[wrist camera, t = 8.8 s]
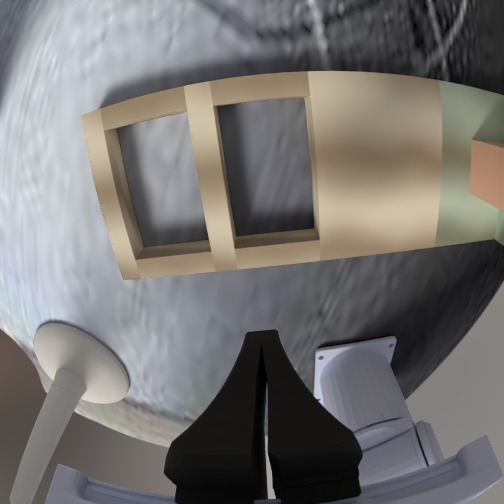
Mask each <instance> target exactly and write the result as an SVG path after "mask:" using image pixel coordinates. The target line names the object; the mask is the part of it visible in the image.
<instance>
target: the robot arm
mask: <svg viewBox="0 0 504 504" xmlns="http://www.w3.org/2000/svg"><path fill="white" fill-rule="evenodd" d="M396 340H397V339H396V338H395V336H389V337H384V338H379V339H373V340H368V341H362V342H357V343H351V344H344V345H338V346H331V347H324V348H319V349H317V350H316V352H315V380H314V396H313V394H312V393H311V392H310V391H309V389H308V388H307V387H306V386H305V384H304V383H303V382H302V380H301V379H300V377H299V376H298V374H297V373H296V371H295V369H294V368H293V366H292V364H291V363H290V361H289V359H288V357H287V355H286V353H285V351H284V349H283V346H282V344H281V341H280V339H279V335H278V331H277V330H264V331H253V332H247V333H246V335H245V339H244V342H243V345H242V348H241V351H240V353H239V356H238V358H237V360H236V362H235V365H234V367H233V369H232V371H231V372H230V374H229V376H228V378H227V380H226V382H225V383H224V385H223V386H222V388H221V390H220V391H219V393H218V394H217V395H216V397H215V398H214V400H213V401H212V402H211V403H210V405H209V406H208V407H207V409H206V410H205V411H204V412H203V413H202V414H201V415H200V416H199V417H198V419H197V420H196V421H195V422H194V423H193V424H192V425H191V426H190V427H189V428H188V429H187V430H185V431H184V432H183V433H182V434H181V435H180V436H178V437H177V438H176V439H175V440H174V441H172V443H171V445H170V448H169V451H168V453H167V456H166V461H165V467H164V474H165V475H166V476H167V478H168V479H170V480H171V481H172V482H173V483H174V484H175V485H176V486H177V487H176V494H175V496H169V495H162V494H156V493H149V492H144V491H139V490H134V489H129V488H124V487H120V486H115V485H111V484H107V483H104V482H100V481H96V480H93V479H89V478H87V476H85V475H84V474H83V473H81V472H79V471H77V470H75V469H72V468H69V467H66V466H63V465H60V464H58V466H57V468H56V471H55V474H54V477H53V480H52V483H51V486H50V489H49V492H48V495H47V498H46V501H45V504H464V503H465V502H467V501H469V500H471V499H473V498H475V497H476V496H478V495H480V494H481V493H483V492H484V491H486V490H487V489H488V488H490V487H491V486H493V485H494V484H495V483H497V482H498V481H499V480H501V479H502V478H503V473H502V471H501V469H500V466H499V463H498V461H497V459H496V456H495V454H494V451H493V449H492V447H491V445H490V442H489V440H488V438H487V436H483V437H481V438H479V439H477V440H475V441H474V442H471V443H469V444H468V445H466V446H464V447H463V448H462V449H460V450H459V451H458V453H457V454H456V455H454V456H452V457H450V458H448V459H444V457H443V454H442V451H441V449H440V446H439V443H438V441H437V439H436V436H435V434H434V431H433V429H432V427H431V425H430V423H427V422H424V421H422V420H421V421H419V422H417V423H416V425H415V423H414V422H413V420H412V418H411V415H410V412H409V410H408V407H407V405H406V402H405V400H404V397H403V395H402V392H401V390H400V387H399V385H398V383H397V380H396V378H395V375H394V373H393V371H392V368H391V366H390V363H391V360H392V356H393V352H394V349H395V345H396ZM390 344H391V345H390ZM320 356H322V357H320ZM267 385H268V456H269V460H270V464H271V470H272V479H273V480H272V481H273V489H274V492H275V496H276V499H268V491H267V475H266V455H265V432H264V420H265V404H266V386H267Z"/></svg>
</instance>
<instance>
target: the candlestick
mask: <svg viewBox="0 0 504 504" xmlns="http://www.w3.org/2000/svg"><path fill="white" fill-rule="evenodd" d="M33 345H34V350H35V353H36V356H37V358H38V361H39V363H40V364H41V366H42V368H43V369H44V371H45V372H46V373H47V374H48V376H49V377H50V378H51V379H52V380H53V384H52V385H51V388H50V390H49V392H48V395H47V397H46V399H45V401H44V404H43V406H42V408H41V411H40V413H39V415H38V418H37V420H36V423H35V425H34V428H33V430H32V433H31V436H30V438H29V441H28V443H27V446H26V449H25V452H24V454H23V457H22V460H21V463H20V466H19V470H18V473H17V476H16V479H15V482H14V486H13V490H12V493H11V496H10V502H11V503H10V504H31V503H32V500H33V498H34V495H35V493H36V490H37V488H38V486H39V483H40V481H41V478H42V476H43V474H44V471H45V469H46V467H47V465H48V463H49V460H50V458H51V456H52V454H53V452H54V450H55V447H56V445H57V443H58V441H59V439H60V437H61V435H62V433H63V431H64V429H65V427H66V425H67V423H68V421H69V419H70V417H71V415H72V413H73V411H74V409H75V408H76V406H77V404H78V403H79V400H80V399H83V400H86V401H89V402H93V403H101V404H106V403H114V402H118V401H120V400H122V399H123V398H124V397H125V396H126V394H127V392H128V389H129V378H128V375H127V373H126V371H125V369H124V367H123V366H122V364H121V363H120V361H119V360H118V359H117V358H116V357H115V356H114V355H113V353H112V352H111V351H109V350H108V349H107V348H106V347H105V346H104V345H103V344H101V343H100V342H99V341H97V340H96V339H94V338H93V337H91V336H90V335H88V334H86V333H85V332H83V331H81V330H79V329H77V328H74V327H72V326H69V325H65V324H61V323H47V324H44V325H42V326H41V327H40V328H39V329H38V330H37V332H36V333H35V335H34V339H33Z"/></svg>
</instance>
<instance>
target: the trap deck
mask: <svg viewBox="0 0 504 504" xmlns="http://www.w3.org/2000/svg"><path fill="white" fill-rule="evenodd" d="M290 98H305V107H306V117H307V127H308V138H309V150H310V163H311V177H312V193H313V212H314V228H313V229H303V230H294V231H284V232H274V233H265V234H255V235H246V236H237V237H236V233H235V226H234V219H233V213H232V206H231V199H230V193H229V186H228V179H227V172H226V166H225V159H224V152H223V145H222V138H221V131H220V124H219V116H218V109H217V106H224V105H231V104H239V103H247V102H256V101H265V100H277V99H290ZM183 112H187V113H188V119H189V126H190V132H191V139H192V145H193V151H194V157H195V163H196V169H197V175H198V181H199V187H200V193H201V198H202V204H203V209H204V215H205V220H206V225H207V231H208V236H209V240H202V241H193V242H185V243H176V244H168V245H160V246H152V247H144V245H143V242H142V238H141V234H140V231H139V227H138V223H137V219H136V216H135V212H134V208H133V203H132V199H131V195H130V191H129V186H128V182H127V177H126V173H125V168H124V163H123V158H122V153H121V148H120V143H119V137H118V131H117V128H121V127H124V126H128V125H131V124H135V123H139V122H143V121H147V120H151V119H155V118H160V117H164V116H169V115H174V114H178V113H183ZM81 117H82V124H83V130H84V135H85V141H86V146H87V151H88V156H89V161H90V166H91V170H92V175H93V179H94V183H95V187H96V191H97V195H98V199H99V203H100V207H101V211H102V214H103V218H104V221H105V225H106V228H107V232H108V235H109V238H110V242H111V245H112V248H113V251H114V254H115V257H116V260H117V263H118V266H119V269H120V272H121V275H122V278H123V280H129V279H141V278H152V277H163V276H174V275H185V274H196V273H206V272H217V271H227V270H237V269H247V268H256V267H266V266H276V265H285V264H294V263H304V262H313V261H322V260H331V259H339V258H348V257H357V256H365V255H374V254H382V253H390V252H399V251H407V250H415V249H423V248H430V247H438V246H446V245H453V244H461V243H468V242H476V241H483V240H490V239H495V240H497V241H498V242H499V243H501V244H502V245H503V246H504V212H503V211H501V210H499V209H497V208H496V207H494V206H492V205H490V204H489V203H487V202H485V201H483V200H481V199H480V198H478V197H476V196H474V195H472V194H470V193H469V187H470V173H471V143H472V139H473V140H482V141H491V142H498V143H504V95H500V94H497V93H493V92H490V91H486V90H482V89H478V88H474V87H470V86H465V85H461V84H456V83H451V82H446V81H440V80H434V79H428V78H421V77H414V76H406V75H397V74H386V73H373V72H354V71H303V72H283V73H270V74H259V75H250V76H241V77H233V78H226V79H220V80H213V81H207V82H202V83H196V84H191V85H186V86H181V87H177V88H172V89H168V90H163V91H159V92H155V93H151V94H147V95H144V96H140V97H136V98H133V99H129V100H126V101H123V102H119V103H116V104H113V105H110V106H107V107H104V108H101V109H98V110H95V111H92V112H89V113H87V114H84V115H81Z"/></svg>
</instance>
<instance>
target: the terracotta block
mask: <svg viewBox="0 0 504 504" xmlns="http://www.w3.org/2000/svg"><path fill="white" fill-rule="evenodd" d="M469 193H470V194H472V195H474V196H476V197H478V198H480V199H481V200H483V201H485V202H487V203H489V204H490V205H492V206H494V207H496V208H497V209H499V210H501V211H503V212H504V143H498V142H491V141H482V140H473V139H472V143H471V173H470V187H469Z"/></svg>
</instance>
